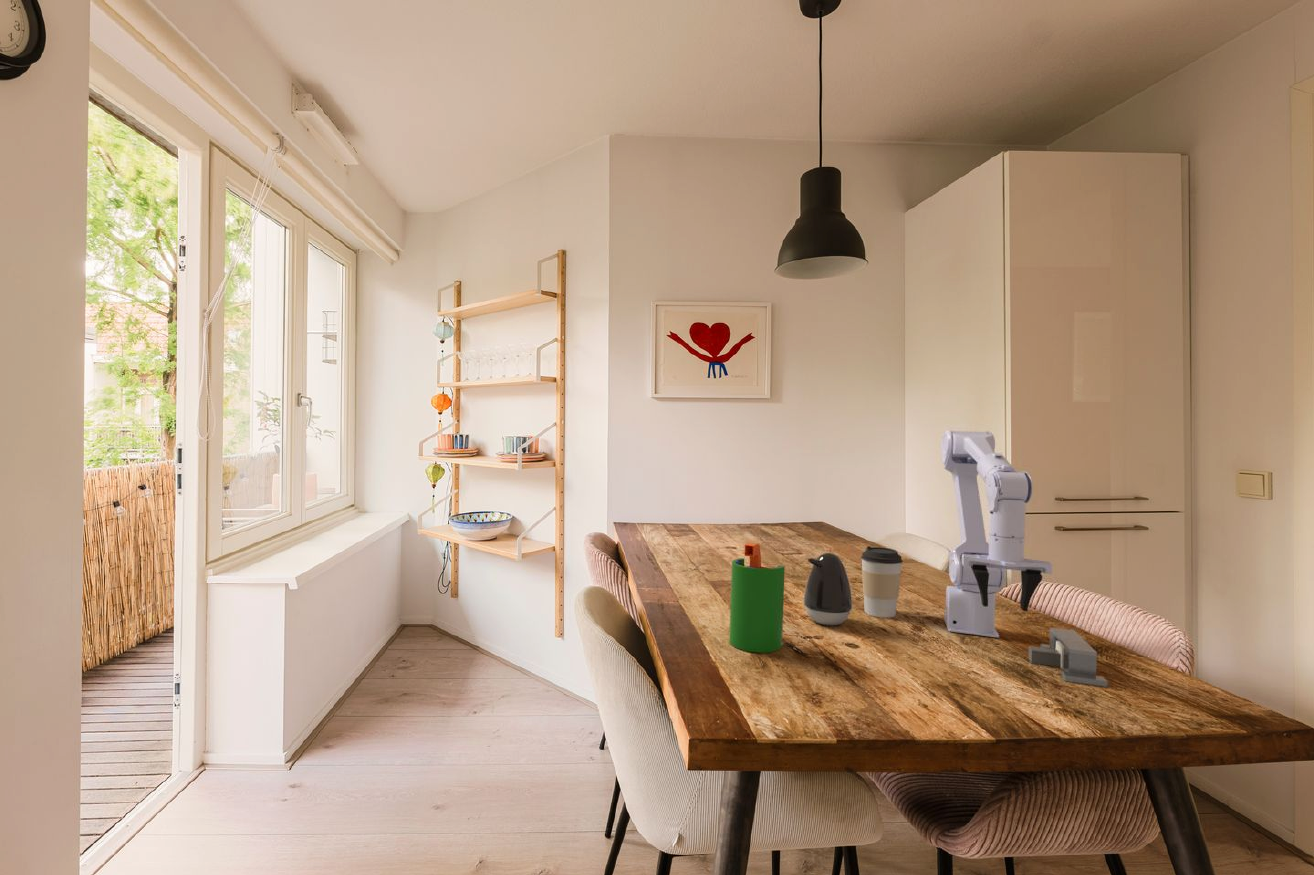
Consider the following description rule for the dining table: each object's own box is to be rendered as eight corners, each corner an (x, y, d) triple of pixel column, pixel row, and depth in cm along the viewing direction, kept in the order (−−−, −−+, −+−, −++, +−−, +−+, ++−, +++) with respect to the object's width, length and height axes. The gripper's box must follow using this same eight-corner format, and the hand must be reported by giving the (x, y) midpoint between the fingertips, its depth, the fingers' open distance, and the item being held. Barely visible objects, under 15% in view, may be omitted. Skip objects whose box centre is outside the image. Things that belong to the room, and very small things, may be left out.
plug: (1032, 664, 107) (1033, 644, 107) (1027, 656, 111) (1028, 637, 111) (1087, 672, 104) (1088, 651, 104) (1080, 664, 108) (1081, 644, 108)
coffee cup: (904, 611, 138) (906, 547, 137) (896, 621, 130) (899, 554, 130) (864, 604, 142) (866, 542, 142) (855, 614, 135) (857, 549, 135)
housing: (1065, 680, 101) (1066, 652, 101) (1040, 648, 116) (1041, 623, 116) (1107, 687, 99) (1108, 657, 98) (1076, 653, 114) (1077, 627, 113)
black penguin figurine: (793, 616, 132) (795, 549, 131) (831, 612, 135) (833, 547, 135) (821, 632, 122) (823, 559, 122) (861, 627, 126) (863, 556, 126)
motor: (785, 641, 116) (788, 540, 116) (775, 657, 108) (778, 548, 108) (736, 632, 120) (739, 535, 120) (722, 647, 112) (725, 543, 112)
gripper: (966, 535, 109) (964, 608, 110) (1058, 542, 104) (1055, 618, 104) (961, 529, 116) (959, 598, 116) (1047, 536, 111) (1044, 607, 111)
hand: (1004, 607), depth 111 cm, fingers open, 6 cm apart
